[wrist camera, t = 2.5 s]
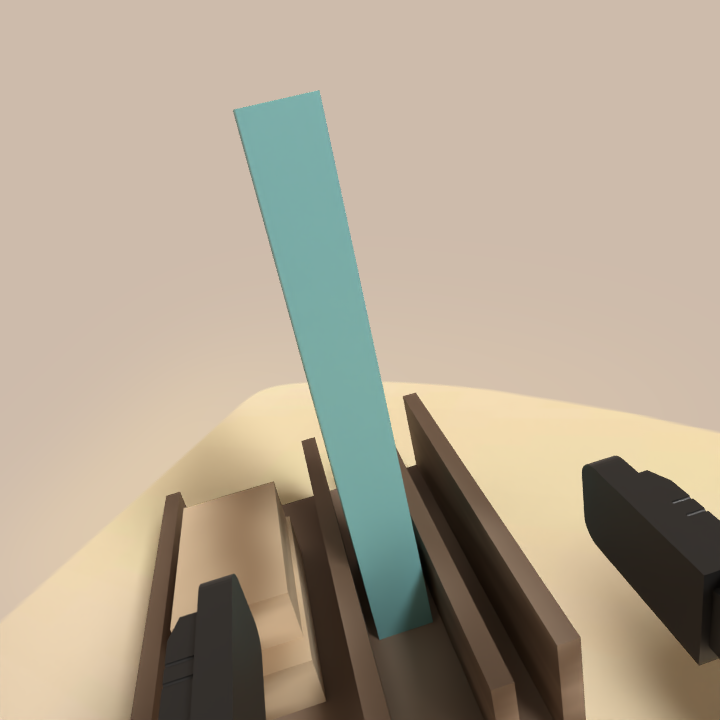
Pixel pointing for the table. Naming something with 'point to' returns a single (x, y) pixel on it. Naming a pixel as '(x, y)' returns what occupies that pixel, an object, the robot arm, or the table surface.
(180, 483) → the table surface
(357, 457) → the teal board
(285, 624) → the upper oak offcut
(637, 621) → the table surface
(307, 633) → the lower oak offcut
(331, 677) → the wooden rack
